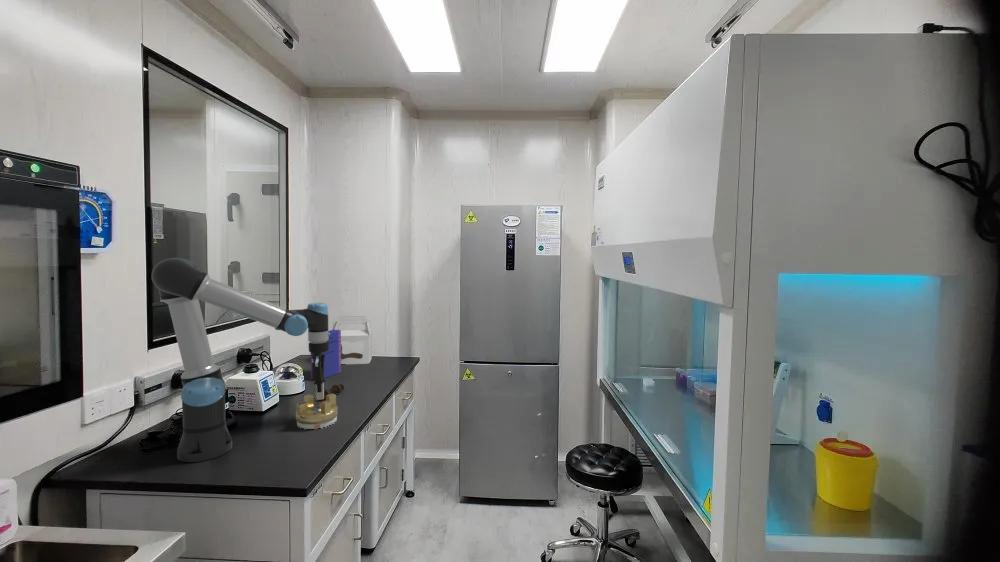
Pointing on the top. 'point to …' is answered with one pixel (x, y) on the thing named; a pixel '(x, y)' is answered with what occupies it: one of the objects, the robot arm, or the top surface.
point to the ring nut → (316, 410)
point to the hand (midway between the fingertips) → (320, 398)
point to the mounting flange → (318, 425)
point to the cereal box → (331, 355)
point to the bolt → (333, 390)
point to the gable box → (356, 339)
